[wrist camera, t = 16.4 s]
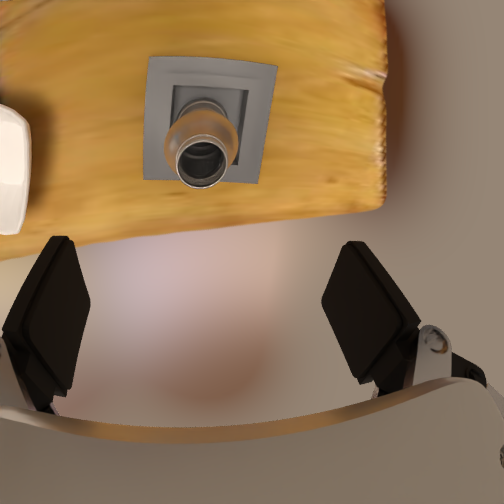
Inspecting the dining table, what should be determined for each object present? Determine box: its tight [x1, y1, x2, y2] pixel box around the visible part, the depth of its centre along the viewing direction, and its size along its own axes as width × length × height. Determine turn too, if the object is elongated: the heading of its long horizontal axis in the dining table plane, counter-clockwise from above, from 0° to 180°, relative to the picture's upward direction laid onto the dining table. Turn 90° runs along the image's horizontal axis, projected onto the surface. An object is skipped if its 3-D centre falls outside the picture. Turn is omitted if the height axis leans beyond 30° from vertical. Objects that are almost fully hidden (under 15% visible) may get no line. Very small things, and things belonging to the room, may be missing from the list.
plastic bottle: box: [164, 98, 239, 189], centre depth 26 cm, size 6×7×20 cm
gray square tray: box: [143, 56, 278, 184], centre depth 33 cm, size 18×17×5 cm
